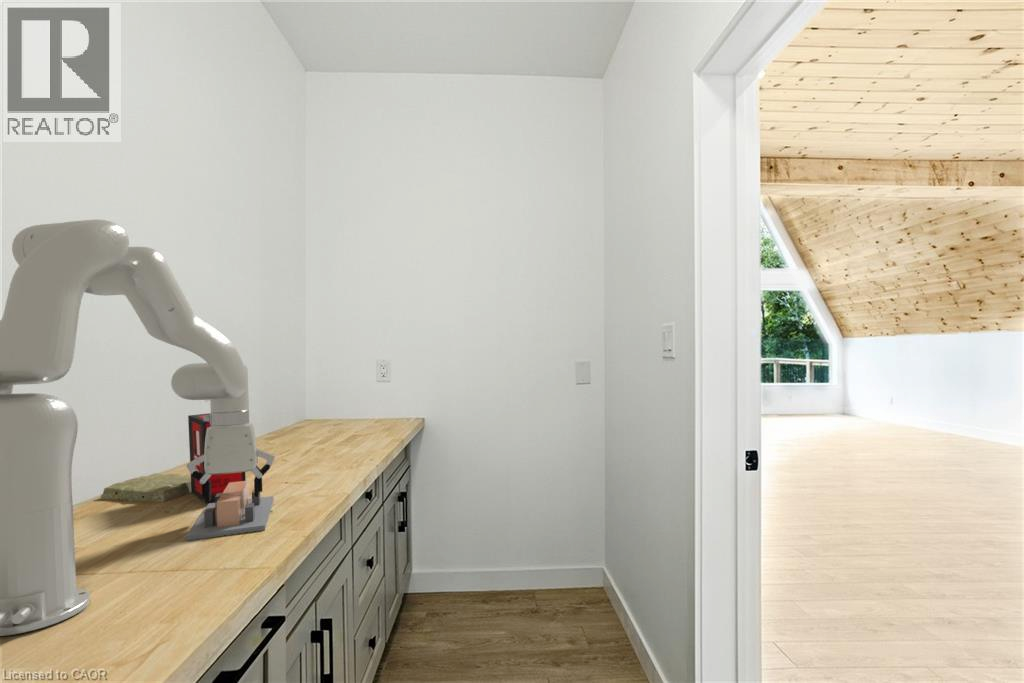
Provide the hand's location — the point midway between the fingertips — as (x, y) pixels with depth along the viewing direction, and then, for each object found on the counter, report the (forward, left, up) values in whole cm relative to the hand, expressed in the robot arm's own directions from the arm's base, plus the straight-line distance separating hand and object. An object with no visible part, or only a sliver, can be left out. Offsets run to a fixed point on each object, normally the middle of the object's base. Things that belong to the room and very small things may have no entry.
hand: (233, 498), depth 126 cm
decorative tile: (+36, +23, -5) cm, 43 cm away
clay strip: (0, 0, -4) cm, 3 cm away
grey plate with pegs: (0, 0, -5) cm, 5 cm away
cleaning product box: (+25, +7, -5) cm, 27 cm away
